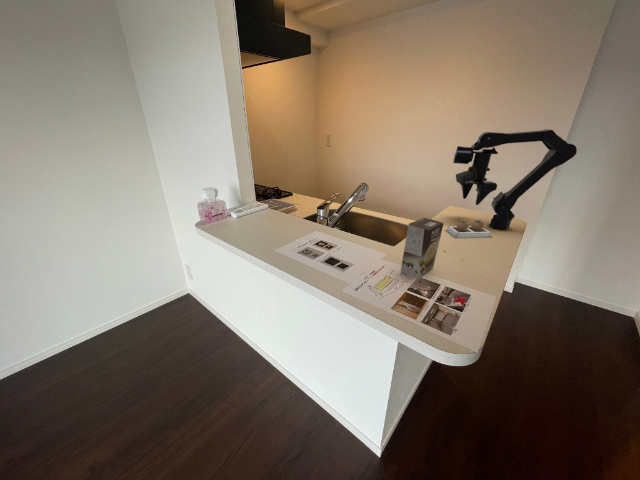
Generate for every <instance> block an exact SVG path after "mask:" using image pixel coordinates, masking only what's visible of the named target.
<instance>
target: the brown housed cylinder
mask: <svg viewBox="0 0 640 480" xmlns="http://www.w3.org/2000/svg"><path fill="white" fill-rule="evenodd" d="M471 226H472V227H471V230H472V231H474V232H482V230H483V228H484V226H485V222H484V221H482V220H481V219H477V220H473V221H472V223H471Z"/></svg>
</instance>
